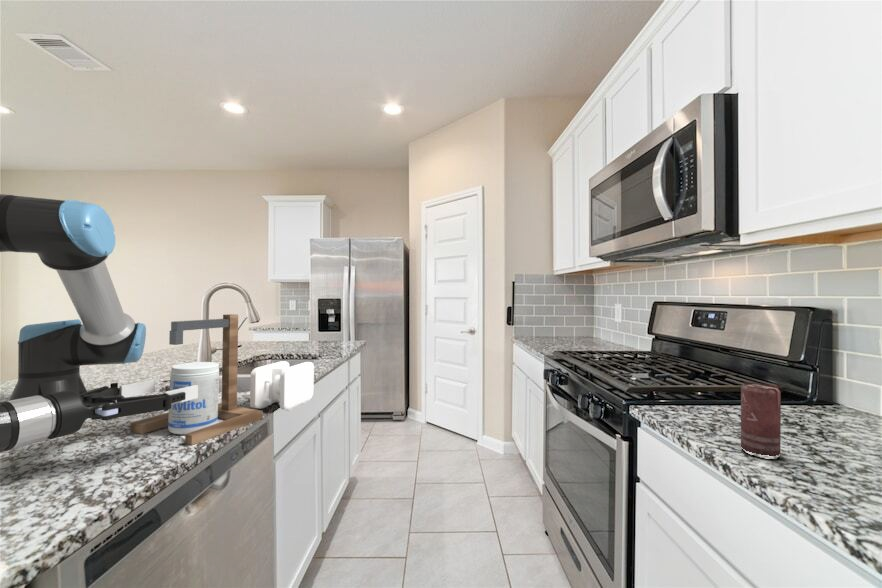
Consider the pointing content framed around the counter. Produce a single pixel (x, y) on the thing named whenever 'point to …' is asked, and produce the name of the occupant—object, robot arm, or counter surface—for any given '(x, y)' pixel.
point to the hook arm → (193, 328)
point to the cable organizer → (281, 385)
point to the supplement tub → (202, 408)
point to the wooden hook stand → (228, 408)
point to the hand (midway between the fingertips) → (174, 388)
